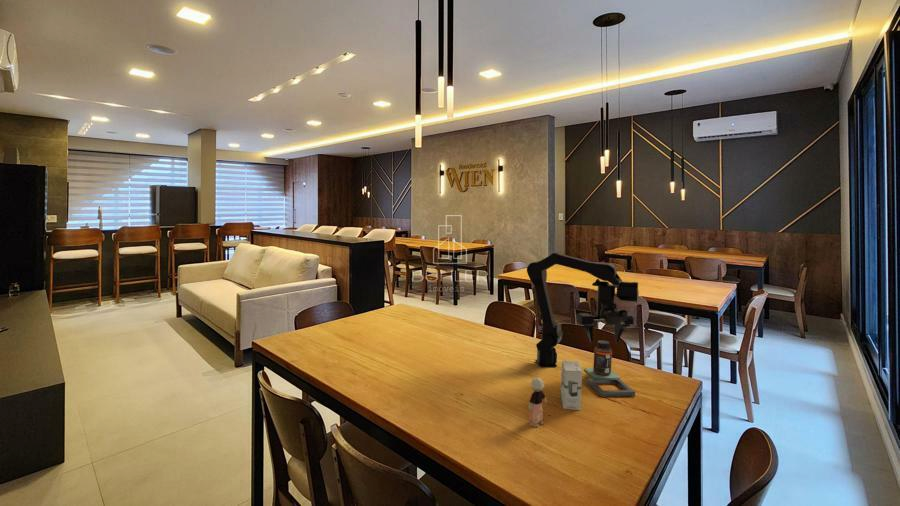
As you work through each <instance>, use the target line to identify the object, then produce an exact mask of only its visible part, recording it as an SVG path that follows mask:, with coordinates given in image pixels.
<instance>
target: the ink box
mask: <svg viewBox="0 0 900 506" xmlns="http://www.w3.org/2000/svg"><path fill="white" fill-rule="evenodd" d="M582 382H583V371H582V368H581V366H580V364H579V361H573V360H572V361H569V360H568V361H567V360H562V361H561V374H560V394H559V397H560V401H561V404H562V407H563V410H575V411H581V404H582V402H581V401H582Z"/></svg>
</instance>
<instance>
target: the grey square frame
mask: <svg viewBox="0 0 900 506" xmlns="http://www.w3.org/2000/svg"><path fill="white" fill-rule="evenodd" d="M586 384H588V386H590V388H591V389H593V391H594V392H595V393H596V394H597V395H599V396H600V397H601V398H602V397H603V398H607V397H608V398H612V397H618V398H619V397H620V398H621V397H636V391H635V390H634V389H632V388H631V387H630V386H629V385H627V384H626V383H625V382H624V381H623V380H621V378H620V379H619V378H593V377H590V378H589V377H588V378H586ZM599 385H617V386H618V387H620V389H621V390H620V389H617V390H616V389H613V390H611V389H609V390H604V389H602V388H601V387H600V386H599Z"/></svg>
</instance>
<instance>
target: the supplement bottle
mask: <svg viewBox="0 0 900 506" xmlns="http://www.w3.org/2000/svg"><path fill="white" fill-rule="evenodd" d="M610 345H611V344H610V342H609V341H607V340H598V341H597V345H596V346H595V347H594V350H593V367H592V368H593V371H594V372H595V373H596V374H599V375H609V374H611V371H612V360H613V350H612V348H611V347H610Z"/></svg>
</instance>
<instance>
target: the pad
mask: <svg viewBox="0 0 900 506" xmlns="http://www.w3.org/2000/svg"><path fill="white" fill-rule="evenodd" d="M584 371H585V372H586V373H587V374H588V375H589V376H590V377H591V378H619V379H620V380H621V376H619V375H618V374H616V373H615V372H614V371H612V370H611V374H609V375H599V374H596V373H595V372H594V371H593V367H591V368H590V367H589V368H587V367H586V368H584Z"/></svg>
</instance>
